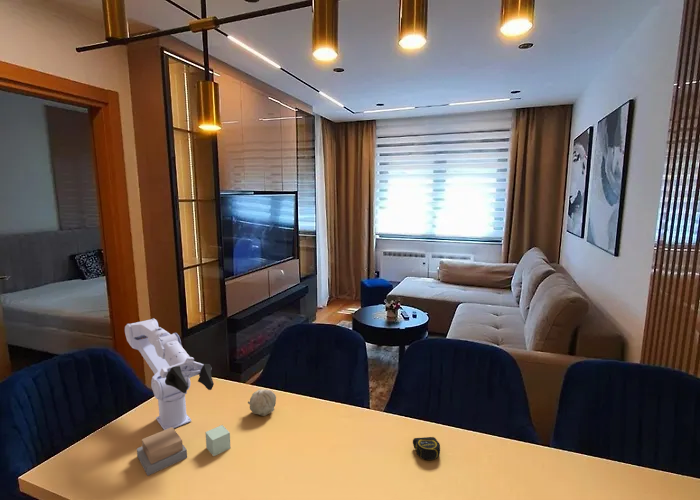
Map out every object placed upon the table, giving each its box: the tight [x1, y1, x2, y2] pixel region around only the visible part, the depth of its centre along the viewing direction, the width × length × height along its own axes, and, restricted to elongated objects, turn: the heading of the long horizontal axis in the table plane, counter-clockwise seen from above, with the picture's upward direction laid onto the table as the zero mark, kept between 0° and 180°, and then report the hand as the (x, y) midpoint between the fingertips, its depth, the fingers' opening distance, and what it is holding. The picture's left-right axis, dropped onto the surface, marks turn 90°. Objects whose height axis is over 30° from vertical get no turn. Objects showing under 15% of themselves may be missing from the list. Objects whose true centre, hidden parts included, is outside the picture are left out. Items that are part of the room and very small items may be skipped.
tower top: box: [141, 427, 184, 464], centre depth 102 cm, size 8×8×3 cm
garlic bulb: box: [247, 388, 277, 417], centre depth 123 cm, size 9×8×10 cm
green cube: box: [205, 424, 231, 457], centre depth 106 cm, size 5×5×5 cm
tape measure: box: [412, 436, 441, 461], centre depth 104 cm, size 7×7×4 cm
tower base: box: [136, 443, 188, 477], centre depth 103 cm, size 10×10×3 cm
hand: (199, 388), depth 102 cm, fingers open, 7 cm apart
